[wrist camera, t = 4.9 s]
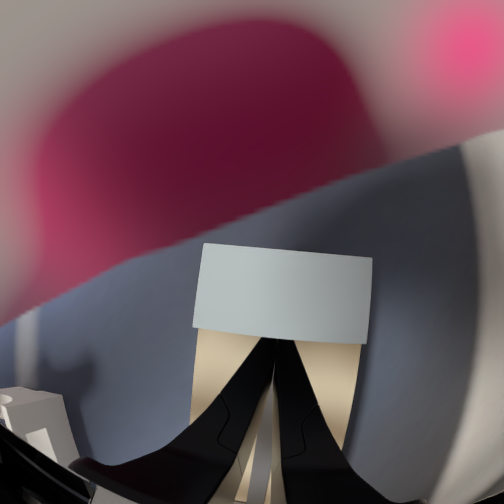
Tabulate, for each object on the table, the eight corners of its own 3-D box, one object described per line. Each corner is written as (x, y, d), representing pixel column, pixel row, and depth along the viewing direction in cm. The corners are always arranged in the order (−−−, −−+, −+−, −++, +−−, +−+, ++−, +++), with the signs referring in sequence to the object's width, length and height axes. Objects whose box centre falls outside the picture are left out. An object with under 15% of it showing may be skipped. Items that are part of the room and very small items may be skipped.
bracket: (25, 385, 19) (-26, 391, 12) (63, 394, 18) (5, 407, 11) (56, 483, 16) (17, 503, 9) (99, 501, 15) (59, 530, 8)
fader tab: (314, 335, 15) (363, 365, 6) (246, 328, 16) (190, 347, 6) (319, 284, 16) (372, 237, 6) (252, 278, 17) (207, 223, 7)
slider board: (314, 514, 14) (315, 529, 12) (193, 500, 15) (185, 513, 13) (357, 294, 18) (366, 291, 16) (213, 280, 19) (204, 276, 17)
